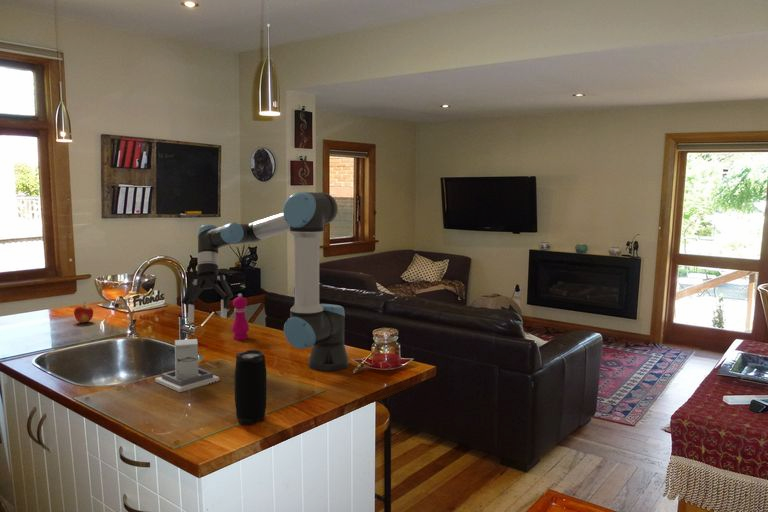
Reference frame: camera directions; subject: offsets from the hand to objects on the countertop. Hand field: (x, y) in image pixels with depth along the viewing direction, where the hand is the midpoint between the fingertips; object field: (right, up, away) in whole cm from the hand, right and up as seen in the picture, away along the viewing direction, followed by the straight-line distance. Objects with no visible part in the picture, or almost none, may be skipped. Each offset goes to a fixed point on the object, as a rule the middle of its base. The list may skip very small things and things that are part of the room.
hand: (207, 319), depth 209 cm
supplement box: (-2, -18, -17) cm, 25 cm away
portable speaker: (+27, -23, -48) cm, 60 cm away
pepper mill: (+3, -13, +39) cm, 41 cm away
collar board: (-1, -19, -17) cm, 25 cm away
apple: (-78, -8, +61) cm, 100 cm away
